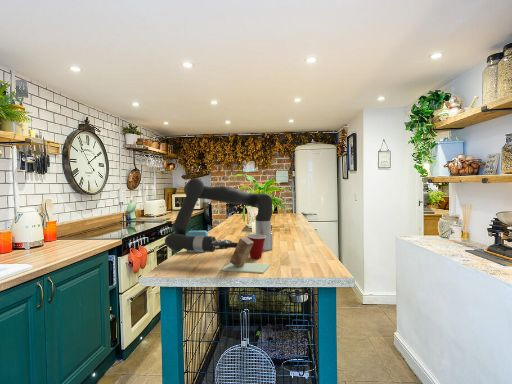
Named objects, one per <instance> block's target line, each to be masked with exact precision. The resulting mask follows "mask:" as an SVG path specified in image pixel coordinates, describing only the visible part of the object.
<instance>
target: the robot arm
mask: <svg viewBox="0 0 512 384" xmlns="http://www.w3.org/2000/svg"><path fill="white" fill-rule="evenodd" d="M183 193H184V195H185V198H184V201H183V203H182V204H181V206H180V209H179V211H178V213H177V216H175V220H174V222H173V226H172V228H173V232H174V233H170V234H168V235H167V236H166V237H165V239H164V244H165V245H166V247H167V248H169V249H170V250H172V252H173V251H174V252H180V251H181V250H182V249H183V250H186V251H187V250H191V251H201V252H200V253H213V252H215V251H217V250H228V249H231V248H232V249H233V248H234V249H236V246H237V244H238V242H234V241H233V242H232V240H228V239H224V240H223V239H218V240H217V239H216V237H215V236H213V235H212V236H211V235H208V236H186V233H187V229H188V227H189V224H190V221H191V219H192V215H193V212H194V209H195V207H196V205H197V203H198V200H199V199H200V200H201V199H202V200H209V201H215V202H220V203H225V204H230V205H245V206H250V207H253V208H256V209H257V214H256V215H255V222H254V223H255V224H254V225H255V234H259V235H264V236H266V238H265V240H264V245H263V251H264V252H265V251H270V250H273V232H272V215H273V198H272V197H271V195H269V194H268V193H253V192H247V191H244V190H241V189H239V188H236V187H231V186H205V184H204V181H203V180H202V179H200V178H197V177H194V178H191V179H190V180H189V181H188V182H187V183H185V185H184V187H183ZM263 251H262V252H263Z"/></svg>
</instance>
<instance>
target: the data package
mask: <svg viewBox="0 0 512 384" xmlns="http://www.w3.org/2000/svg"><path fill="white" fill-rule="evenodd" d="M186 236H209V233H208V230H189V231H186ZM186 252H187V253H202V252H201V251H191V250H186Z"/></svg>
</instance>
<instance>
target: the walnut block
mask: <svg viewBox="0 0 512 384" xmlns="http://www.w3.org/2000/svg"><path fill="white" fill-rule="evenodd" d="M237 243H238V244H237V246H236V248H234V251H233V253H232V255H231V258H230V261H229V263H232V264H233V265H235V266H236V267H237V268H239V267H241V266H244V264H245V263H246V262H247V259H248V257H249V256H250V250H251V248H252V246H253V243H254V242H253V241H251V240H250V239H249V238H247V237H246V236H244V237H240V238H239V239H238V241H237Z"/></svg>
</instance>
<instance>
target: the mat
mask: <svg viewBox="0 0 512 384" xmlns="http://www.w3.org/2000/svg"><path fill="white" fill-rule="evenodd" d="M271 266H272V264H270V263H257V262H256V263H255V262H254V263H253V262H245V264H244V266H241V267H239V268H237V267H236V266H235V265H233V264H232V263H231V262H229V263H228V264H227V265H225V266H224V267H222V268H221V269H220V271H223V272H237V273H248V274H249V273H250V274H264V273H266V271H267V270H269V268H270V267H271Z"/></svg>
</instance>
